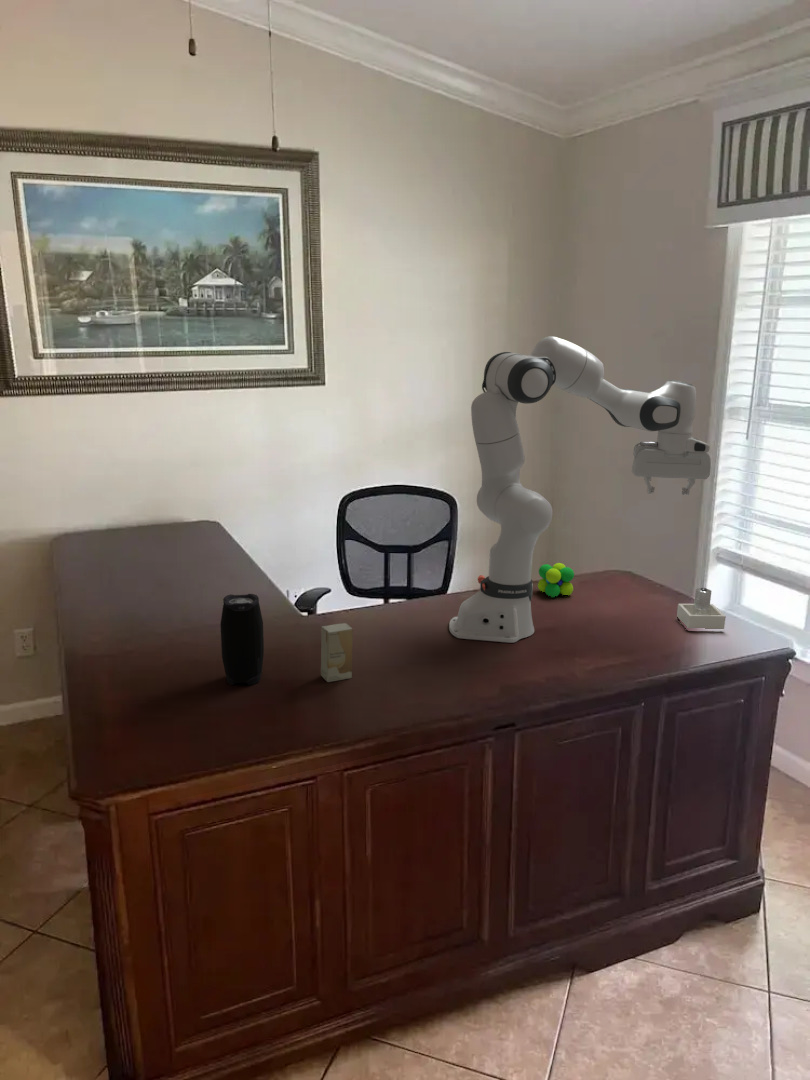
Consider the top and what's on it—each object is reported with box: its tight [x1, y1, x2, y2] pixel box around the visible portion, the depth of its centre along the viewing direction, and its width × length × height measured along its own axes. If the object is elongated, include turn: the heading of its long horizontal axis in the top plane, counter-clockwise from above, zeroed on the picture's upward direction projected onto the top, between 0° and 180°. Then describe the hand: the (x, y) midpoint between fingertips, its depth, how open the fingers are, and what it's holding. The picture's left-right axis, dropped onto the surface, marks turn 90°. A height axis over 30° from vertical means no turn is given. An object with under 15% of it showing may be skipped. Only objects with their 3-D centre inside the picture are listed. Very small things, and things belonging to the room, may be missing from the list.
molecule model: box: [537, 562, 575, 598], centre depth 257 cm, size 9×9×9 cm
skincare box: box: [320, 622, 354, 683], centre depth 197 cm, size 6×4×12 cm
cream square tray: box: [676, 603, 726, 630], centre depth 233 cm, size 10×10×4 cm
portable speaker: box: [220, 593, 265, 686], centre depth 193 cm, size 9×9×20 cm
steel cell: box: [693, 587, 712, 615], centre depth 233 cm, size 4×4×10 cm
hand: (667, 494), depth 232 cm, fingers open, 8 cm apart
